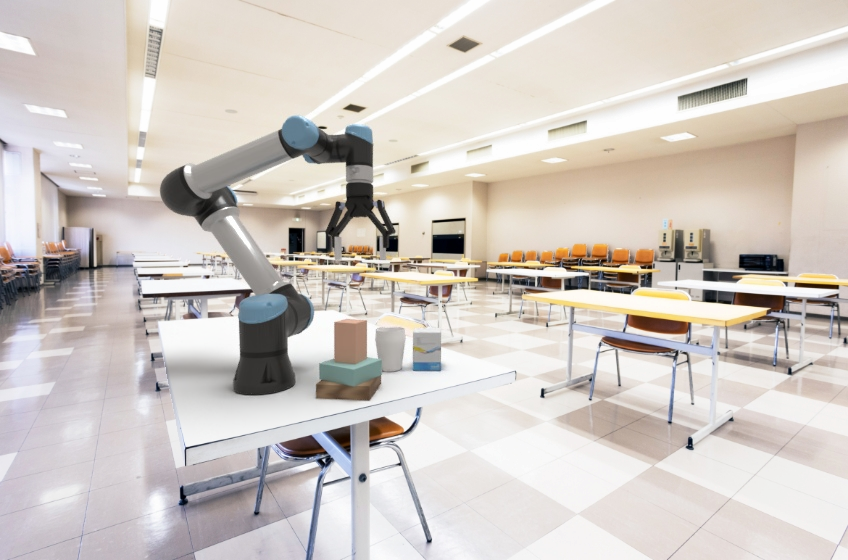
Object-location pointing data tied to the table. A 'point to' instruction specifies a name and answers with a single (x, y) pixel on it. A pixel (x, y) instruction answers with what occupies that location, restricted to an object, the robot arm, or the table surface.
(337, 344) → the tall block
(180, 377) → the table surface
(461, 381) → the table surface
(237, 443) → the table surface
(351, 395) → the block bottom
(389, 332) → the cup
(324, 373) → the block top
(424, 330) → the ink box
